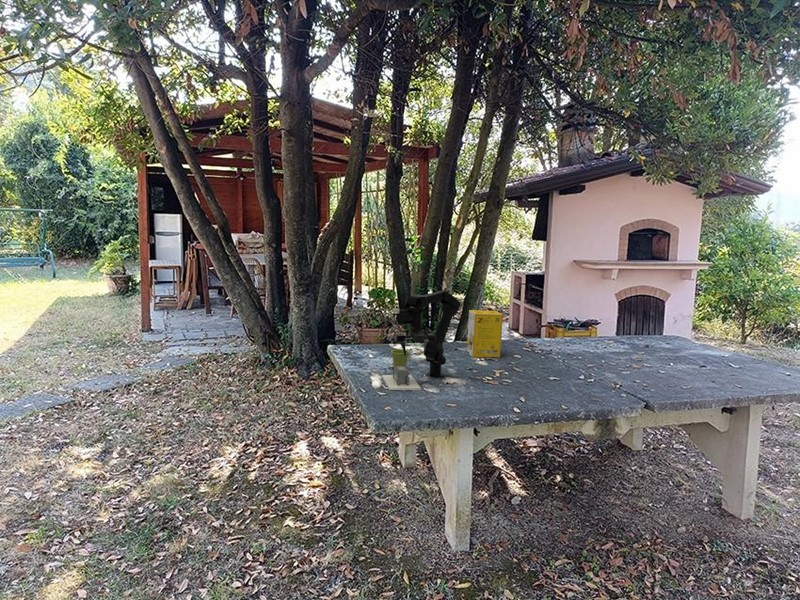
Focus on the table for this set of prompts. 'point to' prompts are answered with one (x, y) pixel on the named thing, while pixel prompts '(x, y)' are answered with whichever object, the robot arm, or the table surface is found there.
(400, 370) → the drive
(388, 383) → the peg board
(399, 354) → the plant pot
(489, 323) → the packaging box
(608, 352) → the table surface
